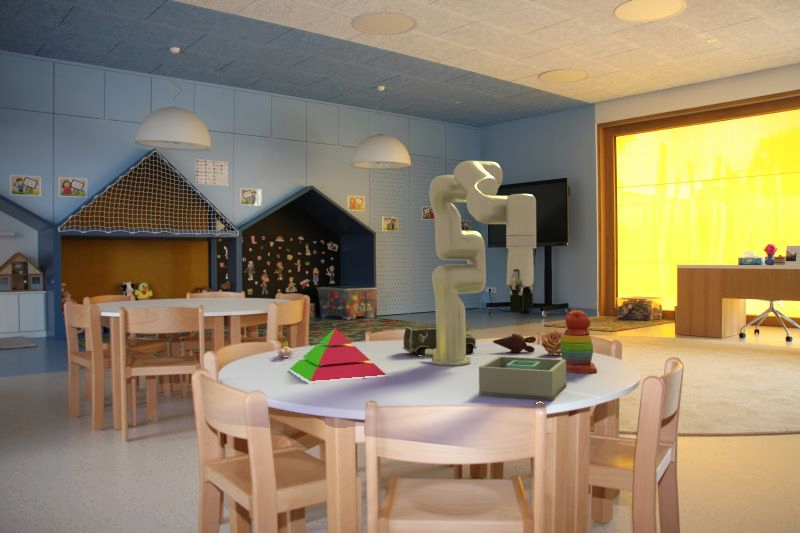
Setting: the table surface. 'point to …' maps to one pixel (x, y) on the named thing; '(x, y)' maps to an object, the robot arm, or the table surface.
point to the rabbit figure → (285, 350)
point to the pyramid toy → (335, 360)
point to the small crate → (524, 365)
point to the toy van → (428, 339)
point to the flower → (552, 342)
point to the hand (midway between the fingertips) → (521, 309)
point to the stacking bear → (577, 344)
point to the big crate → (522, 379)
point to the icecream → (516, 343)
